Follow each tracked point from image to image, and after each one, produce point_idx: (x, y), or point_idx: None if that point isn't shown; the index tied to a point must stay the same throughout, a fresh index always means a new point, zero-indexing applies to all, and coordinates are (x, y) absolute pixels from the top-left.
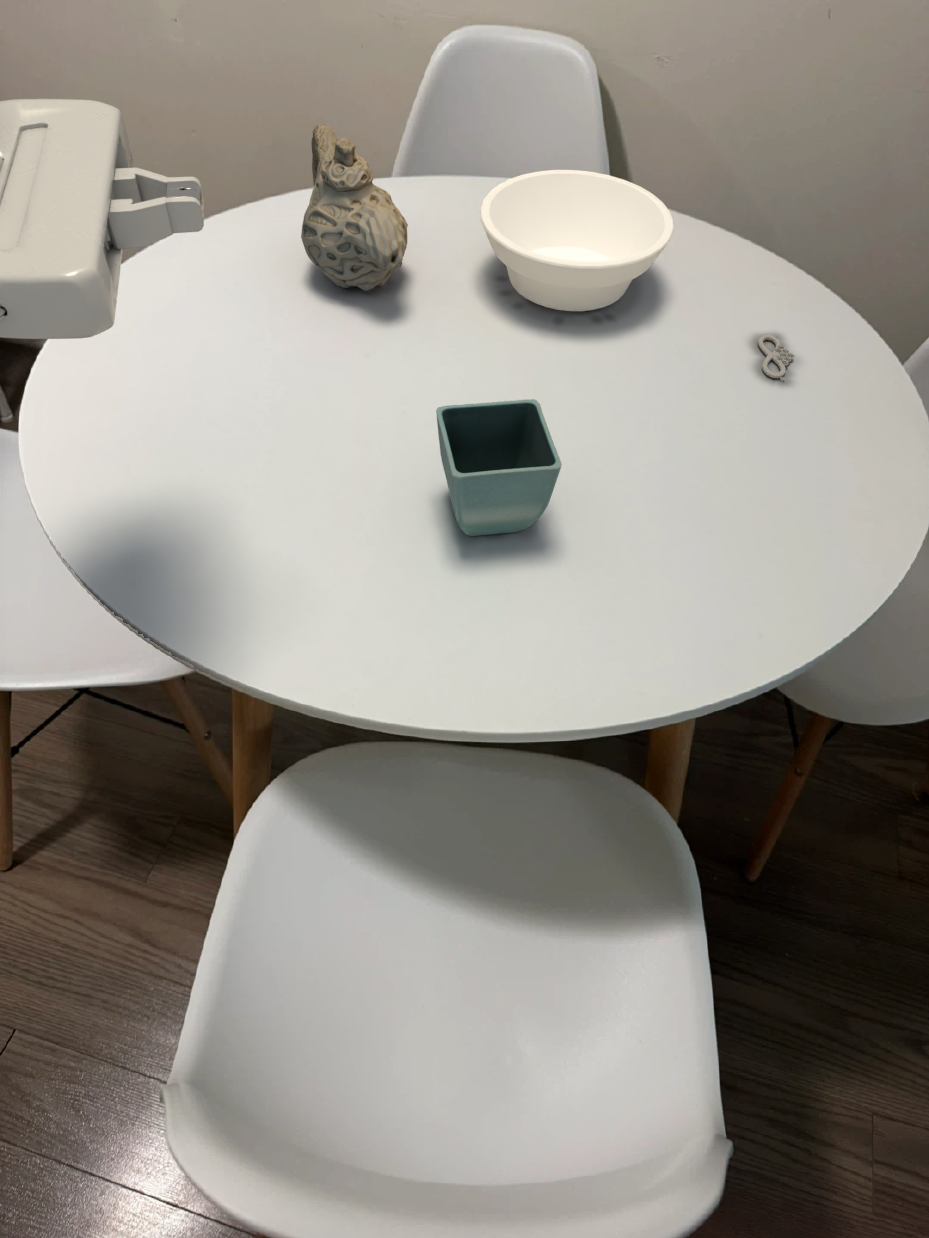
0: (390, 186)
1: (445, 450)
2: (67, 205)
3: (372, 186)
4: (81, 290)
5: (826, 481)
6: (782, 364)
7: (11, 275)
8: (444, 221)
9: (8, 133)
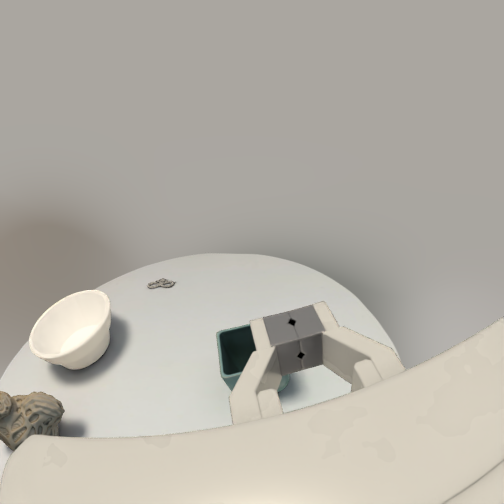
0: None
1: None
2: (467, 398)
3: (11, 397)
4: None
5: (236, 272)
6: (167, 281)
7: None
8: (22, 392)
9: None
